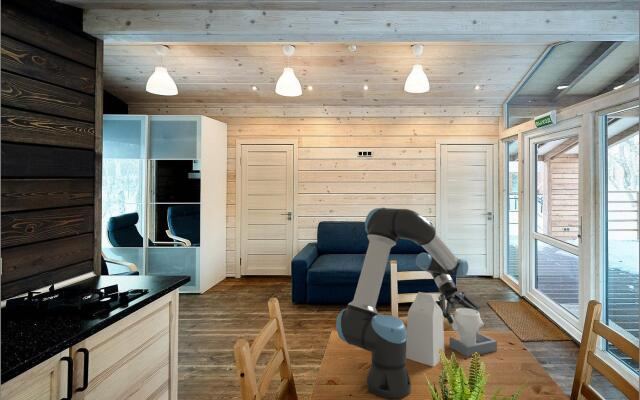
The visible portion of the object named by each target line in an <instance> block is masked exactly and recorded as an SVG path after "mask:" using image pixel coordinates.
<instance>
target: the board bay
mask: <svg viewBox="0 0 640 400" xmlns="http://www.w3.org/2000/svg"><path fill="white" fill-rule="evenodd" d="M475 339H476V344H471V345H465V344H463V343H461V342H459V341H458V339H455V338H454V337H450V336H449V339H448V341H449V342H448V343H449V344H448V345H449V346H448V347H449V348H451V349H453V350H454V351H456V352H458V353H460V354H461V355H463V356H465V357H466V358H470V357H473V356H472V354H473V353H475V352H478V353H479V355H483V354H484V355H485V354H487V353H492V352H493V353H494V352H497V351H498V341H497V340H495V339H493V338H492V337H489V336H486V335H485V334H482V333H480V332H479V331H477V333H476V338H475Z"/></svg>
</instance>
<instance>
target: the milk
mask: <svg viewBox="0 0 640 400" xmlns="http://www.w3.org/2000/svg"><path fill="white" fill-rule="evenodd" d="M406 320H407V321H406V335H407V339H406V359H408V360H411V361H413V362H414V361H415V362H416V363H417V362H418V363H421V364H423V365H428V366H429V367H430V366H431V367H435V366H436V365H437V364H439V362H440V361H441V360H440V353H439V348H441V349H442V350H443V351H444V352H445V338H444V337H445V335H444V334H445V332H444V330H445V329H444V316H443V312H442V309H441V308H440V304H438V302H436V299H435V296H434V294H432V293H427V292H421V291H418V292H417V294H416V296H415V298H414V300H413V302H412V303H411V306H410V307H409V308H408V312H407V318H406Z"/></svg>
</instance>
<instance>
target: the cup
mask: <svg viewBox="0 0 640 400" xmlns="http://www.w3.org/2000/svg"><path fill="white" fill-rule="evenodd" d="M453 317H454V319H455V321H456V323H457V325H458V327H459V330H457V333H458V338H457V341H459V342H461V343H463V344H465V345H471V344H476V343H477V342H476V333H477V332H479V329H480V328H481V327H480V324H481V320H482V318H480V317H481V315H480V311H479V310H477V311H476V310H473V309H469V308H465V307H459V308H456V309H455V311H454V315H453Z"/></svg>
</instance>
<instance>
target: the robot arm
mask: <svg viewBox="0 0 640 400" xmlns="http://www.w3.org/2000/svg"><path fill="white" fill-rule="evenodd" d="M364 227H365V228H364V230H365V232H366V233H367V235H366V236H367V239H368V241H369V243H368V246H367V250H366V255H365V258H364V261H363V265H362V268H361V272H360V276H359V279H358V283H357V287H356V289H355V293H354V297H353V299H352V301H350V302H349V303H348V304H347V306H346V308H343V309H342V310H341V311H340V312H339V313H338V316H337V318H336V322H335V323H336V324H335V327H336V332H337V336H338V338H339V339H340V340H341V341H342V342H345V343H346V344H348V345H352V346H353V347H357V348H359V349H362V350H364V351H367V352H370V353H371V364H370V367H369V370H368V373H367V376H366V388H367V390H368V391H369V392H370V393H371V394H373V395H374V396H376V397H379V398H382V399H389V400H390V399H391V400H398V399H402V398H405V397H407V396H409V395H410V393H411V391H412V381H411V378H410V375H409V371H408V369H407V358H406V339H407V335H406V332H407V326H406V324H405V323H404V322H403V320H401V319H400V318H398V317H397V316H394V315H391V314H385V313H384V314H383V313H382V314H381V313H380V314H379V313H378V310H377V309H376V307H377V302H378V299H379V295H380V290H381V287H382V284H383V279H384V276H385V271H386V267H387V265H388V260H389V256H390V253H391V249H392V248H394V246H396V245H397V241H398V239H400V240H409V241H411V242H414V243H415V244H417V245H418V246H421V247H422V248H423V249H424V250H425V251H426V252H427V253H426V252H421V253H419V254H418V255H417V256H416V258H415V264H416V266H417V267H418V268H419V269H420V270H422V271H425V272H427V273H429V274H430V275H431V276H432V278H433V280H434V282H435V285H436V286H437V288H438V290H439V291H440V295H439V296H438V300H439V307H440V308H441V309H442V312H443V319H446V320H447V321H448V323H449V324H450V325H451V327H452V329H453V330H454V332H458V330H459V327H458V325H457V323H456V321H455V319H454V315H453V314H451V311H452V305H461V306H463V308H469V309H473V310H476V311H479V309H480V306H478V304H477V303H476V302H474V300H472V299H471V298H470V297H469V296H468V295H467V294H466V292H465V291H462V292H459V291H458V287H457V285H456V284H455V282H454V280H453V277H451V276H454V277H461V278H465V277H466V276H467V274H468V271H469V264H468V261H467V260H466V259H462V258H458V257H457V256H456V255H455V254H454V253H453V252H452V250H451V249H450V248H449V247H448V245H447V244H446V243H445V241H444V240H442V238H441V237H440V236H439V235H438V234H437V230H436V228H435V226H434V225H433V224H432V223H431V222H430V221H429V220H428V219H426V218H425V217H424V216H423V215H422V214H420V213H418V212H417V211H414V210H411V209H409V208H392V207H391V208H387V207H377V208H374V209H372V210H370V211H369V212H368V214H367V215H366V217H365V220H364ZM480 318H481V316H480ZM484 325H485V323H484V322H483V320H482V318H481V324H480V327H479V328H481V327H483V326H484Z"/></svg>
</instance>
